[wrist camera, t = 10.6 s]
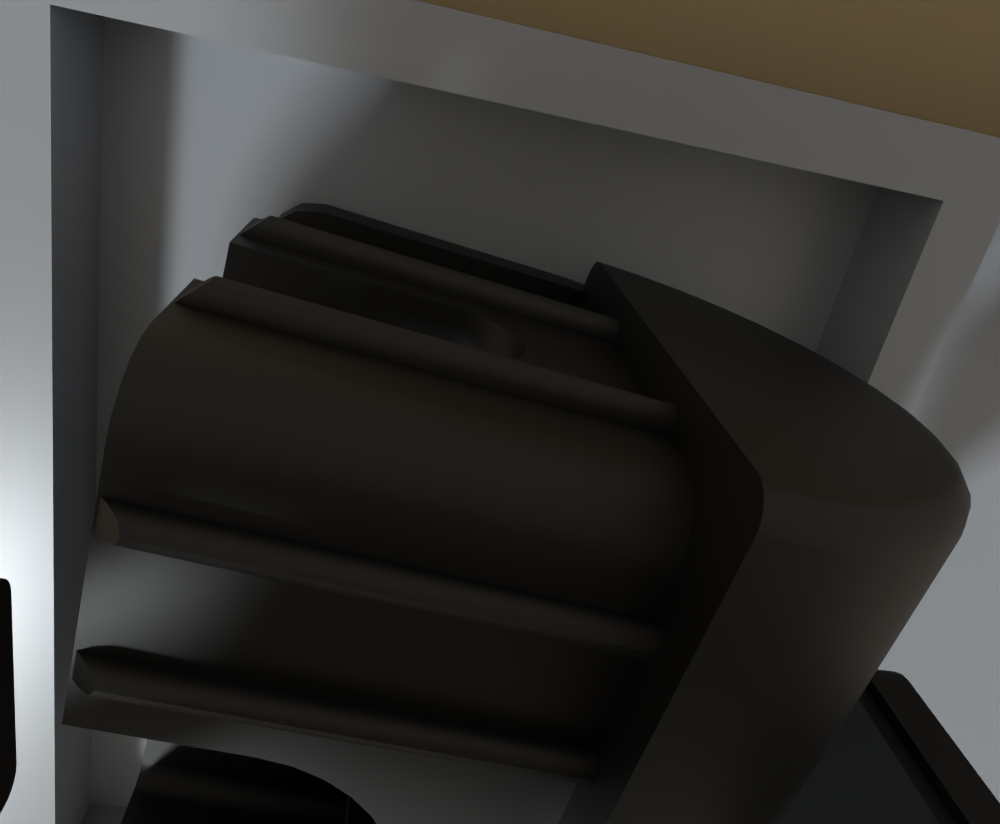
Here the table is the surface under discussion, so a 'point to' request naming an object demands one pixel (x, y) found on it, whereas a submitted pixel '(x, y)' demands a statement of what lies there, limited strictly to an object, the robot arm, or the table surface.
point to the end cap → (487, 543)
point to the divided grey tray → (470, 223)
